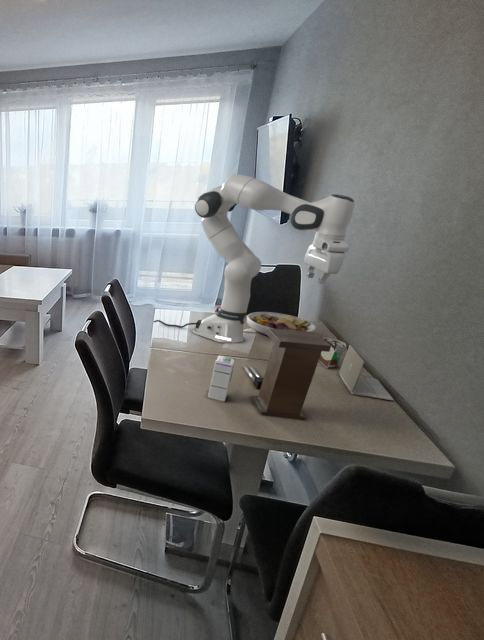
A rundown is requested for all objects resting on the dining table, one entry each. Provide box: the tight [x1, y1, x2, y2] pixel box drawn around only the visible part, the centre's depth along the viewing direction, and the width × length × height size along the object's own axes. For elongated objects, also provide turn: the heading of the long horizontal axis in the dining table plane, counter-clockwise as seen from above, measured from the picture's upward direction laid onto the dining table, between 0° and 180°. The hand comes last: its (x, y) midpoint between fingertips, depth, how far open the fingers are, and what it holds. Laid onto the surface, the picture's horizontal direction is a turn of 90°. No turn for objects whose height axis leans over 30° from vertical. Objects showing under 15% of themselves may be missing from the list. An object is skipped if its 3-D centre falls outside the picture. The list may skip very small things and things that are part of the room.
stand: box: [250, 328, 331, 421], centre depth 135 cm, size 12×14×26 cm
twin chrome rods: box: [243, 365, 264, 390], centre depth 160 cm, size 18×4×3 cm, turn 169°
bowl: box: [246, 311, 317, 336], centre depth 209 cm, size 30×30×8 cm
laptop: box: [338, 344, 394, 401], centre depth 153 cm, size 18×12×13 cm
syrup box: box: [207, 355, 236, 402], centre depth 144 cm, size 6×6×14 cm
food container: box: [318, 336, 348, 370], centre depth 172 cm, size 12×6×10 cm, turn 168°
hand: (315, 280), depth 155 cm, fingers open, 8 cm apart
